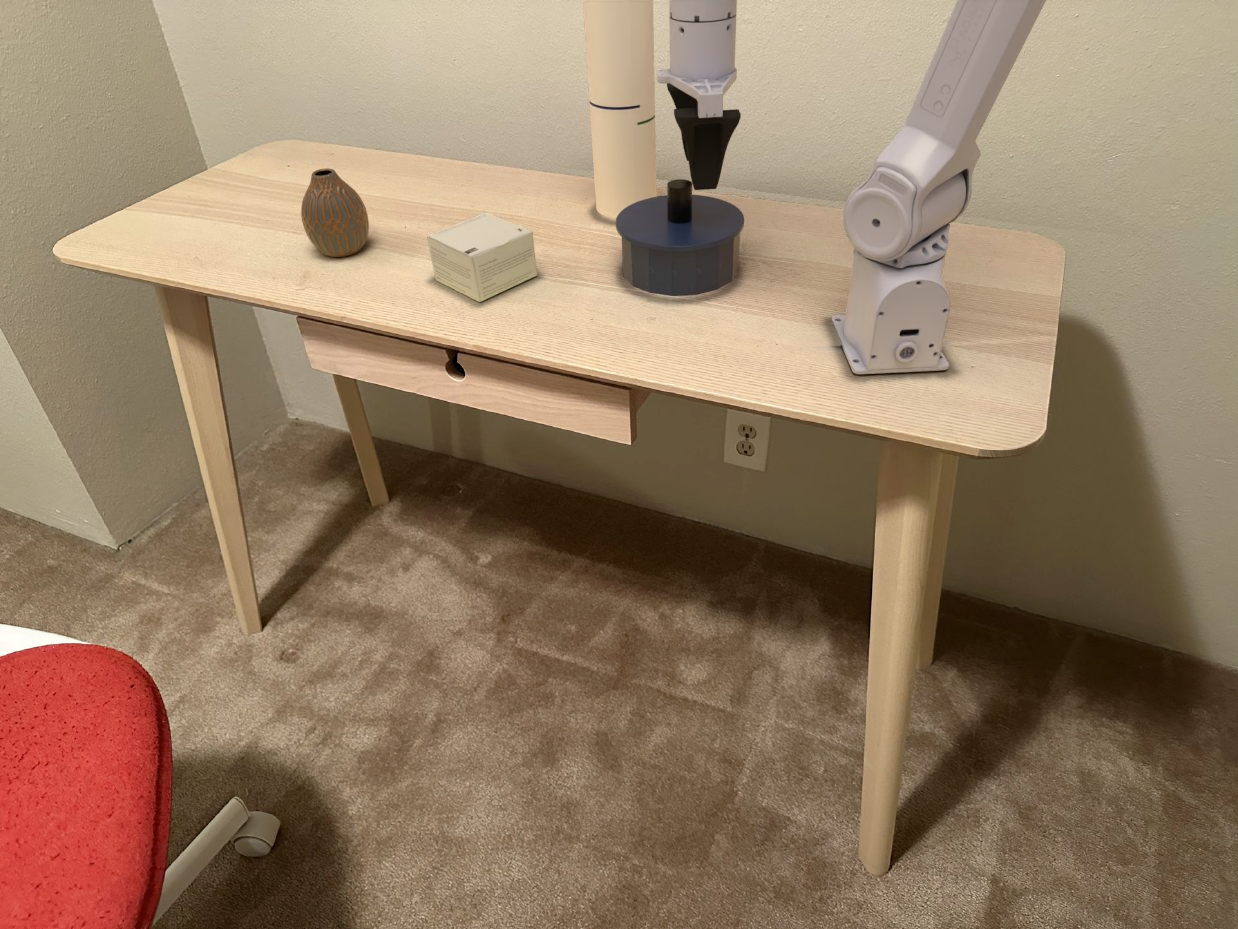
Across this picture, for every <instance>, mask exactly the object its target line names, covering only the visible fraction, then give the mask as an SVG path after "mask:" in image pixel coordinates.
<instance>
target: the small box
mask: <svg viewBox="0 0 1238 929" xmlns="http://www.w3.org/2000/svg"><path fill="white" fill-rule="evenodd" d="M426 240H427V245H428V249H429V253H430V254H429V255H430V260H431V264H432V269H433V276H434V279H435V280H436V281H437V282H438V283H441V284H443V285H444V286H447V287H448V288H450V289H452V290H455V291H456V292H458V293H460V294H461V295H464V296H466V297H468V298H469V299H472V300H474V301H476V302H479V303H481V302H483V301H485V300H487V299H490V298H492V297H494V296H496V295H498V294H500V293H503V292H504V291H507V290H509V289H511V288H513V287H516V286H517V285H520V284H522V283H523V282H526V281H528V280H531V279H533V278H535V277H537V276H538V266H537V260H536V259H537V258H536V250H535V243H534V233H533V231H532V230H530V229H529V228H527V227H524V226H522V225H520V224H517V223H514V222H511V221H508V220H506V219H503V218H502V217H499V216H495V215H493V214H491V213H489V212H486V211H485V212H482V213H480V214H478V215H476V216H473V217H471V218H469V219H465V220H463V221H460V222H458V223H455V224H453V225H451V226H448V227H445V228H444V229H440V230H438V231H436V232H432V233H430V234H427V235H426Z"/></svg>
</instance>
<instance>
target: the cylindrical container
mask: <svg viewBox="0 0 1238 929" xmlns="http://www.w3.org/2000/svg"><path fill="white" fill-rule="evenodd" d="M582 9H583V24H584V25H583V26H584V40H585V41H584V42H585V54H586V55H585V56H586V57H585V58H586V69H587V85H588V99H589V117H590V118H589V119H590V131H591V132H590V133H591V149H592V166H593V179H594V193H595V194H594V195H595V208H596V212H598V213H599V214H601V215H602V216H604V217H608V218H613V219H616V218H617V216H618V214H619V213H620V212H621V211H622V210H623V209H625V208H626V207H628V206H629V205H631V204H633V203H636V202H638V201H641V200H644V199H648V198H652V197H658V194H657V192H658V191H657V190H658V189H657V142H656V140H657V139H656V138H657V136H656V134H657V132H656V86H655V83H656V82H655V41H654V39H655V37H654V36H655V33H654V32H655V31H654V29H655V28H654V0H582Z"/></svg>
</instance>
